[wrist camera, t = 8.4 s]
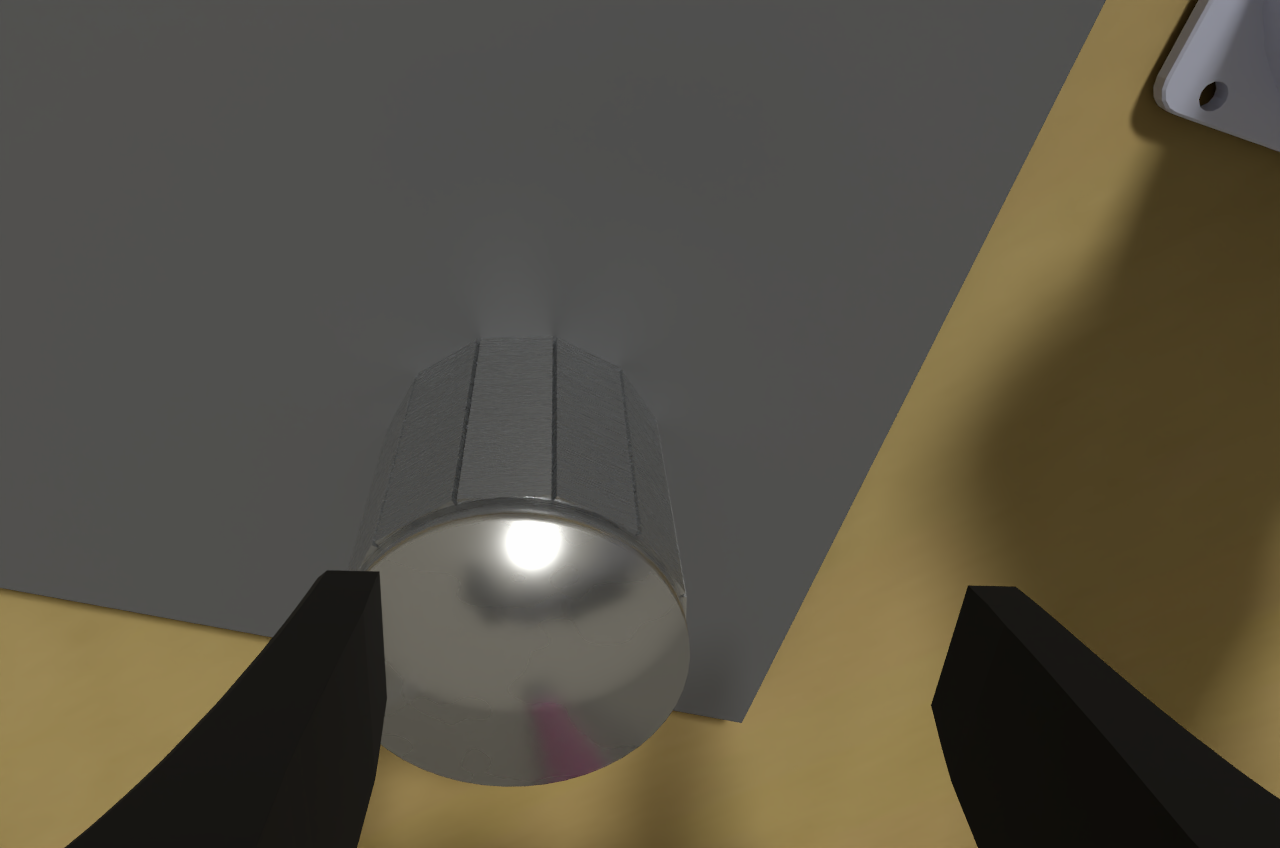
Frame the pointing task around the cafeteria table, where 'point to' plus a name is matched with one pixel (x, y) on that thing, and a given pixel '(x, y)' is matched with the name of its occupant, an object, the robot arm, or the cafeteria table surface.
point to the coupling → (524, 566)
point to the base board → (479, 265)
